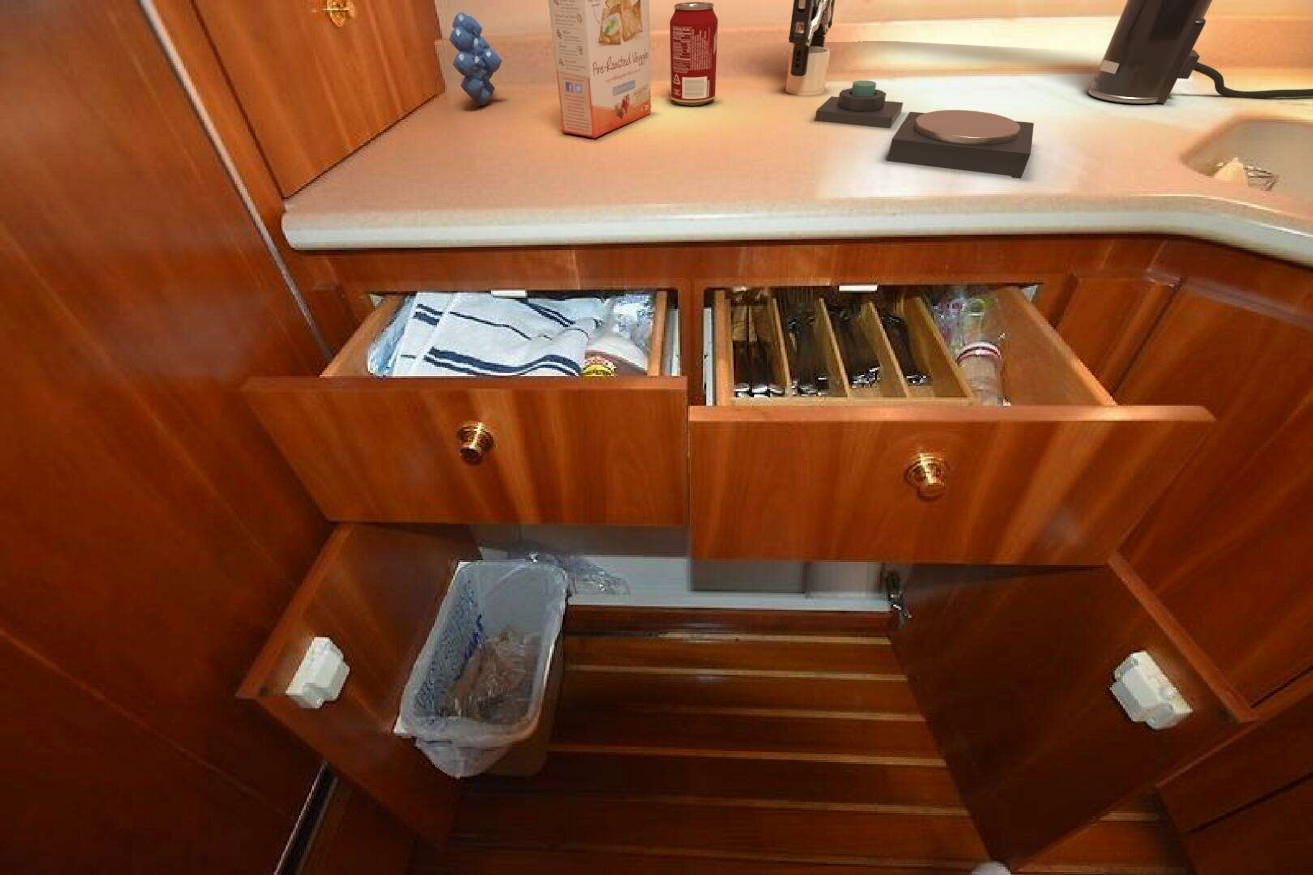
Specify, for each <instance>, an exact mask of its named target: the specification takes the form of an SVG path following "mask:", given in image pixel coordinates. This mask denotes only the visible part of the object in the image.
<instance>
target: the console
mask: <svg viewBox="0 0 1313 875" xmlns="http://www.w3.org/2000/svg"><path fill="white" fill-rule="evenodd" d="M851 92H852V87H850V88H846V89H841V91H840V92H839V93H838V96H833V95H832V96H830V97H829V98H828V99H827V100H826V101H825V102H824V103H823V104H822V105H820V106H819V107H818V108H817V109H816V111H815V117H814V121H815V122H819V123H830V124H840V125H849V126H850V125H851V126H859V127H860V126H861V127H869V128H871V127H872V128H879V129H880V128H881V129H892V127H893V125H894V124H895V122H896V121H897V119H898V118H899V117H900V115H901V114H902V110H903V106H904V102H903V101H892V100H886V97H887V93H886V92H884V91H883V90H881V89H876V88H875V93H874V96H864V97H862V96H854V95H851Z"/></svg>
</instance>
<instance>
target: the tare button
mask: <svg viewBox="0 0 1313 875" xmlns="http://www.w3.org/2000/svg"><path fill="white" fill-rule="evenodd" d="M851 88H852V92H851V95H854V96H862V97H864V96H874V93H875V89H876V88H877V83H876V81H872V80H856V81H853V82H852V86H851Z"/></svg>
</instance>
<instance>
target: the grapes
mask: <svg viewBox="0 0 1313 875" xmlns="http://www.w3.org/2000/svg"><path fill="white" fill-rule="evenodd" d="M451 26H452V28H453V29H452V31H451V32H450V35H449V42H450V43H451V45H452V46H453V47H454V48H455V49H456V50H457V51H458V53H457V54H456V55H455V57H454V58H453V61H452V62H453V63H452V65H453V67H454V68H455V69H456V70H457V71H458V73H459V74H460V75H461V76H463V79H462V80H461V83H460V87H461V89H462V90H463V91H464V93H466V94H467V95H468V96H469V97H470V98H471V100H472V101H473V102H474V103H475V104H476V105H477V106H480V107H483V106H485V105H486V104H487V103H488V102H489V100H490V98H491V97H492V96H493V94H494V92H495V89H496V86H494V85H493V83H492V82H491V81H490V80H491V78H492V77H493V75H494V73H496V72H497V71H498V70H499V69H500V67H501V65H502V62H503V59H502V58H501V57H500V56H499V54H498V53H497V51H495V50H493V49H492V48H491V45H490V44H489V43H488V41H487V40H486V39H485V38H484V37H483V36H481V34H482V31H483V27H482V26H481V24H480V23H479V22H478V21H477V19H476V18H474V17H473V16H471V15H468V14H466V13H464V12H462V11H461V12H459V11H458V13H457V14H456V15H455V16H454V19H453V20H452V25H451Z"/></svg>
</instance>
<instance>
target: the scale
mask: <svg viewBox="0 0 1313 875" xmlns="http://www.w3.org/2000/svg"><path fill="white" fill-rule="evenodd" d="M1034 125H1035V122H1030V121H1029V122H1028V121H1019V120H1014V119H1012V118H1009V117H1006V116H1003V115H999V114H996V113H991V112H984V111H979V110H968V109H967V110H966V109H944V110H943V109H942V110H934V111H930V112H929V111H928V112H919V111H909V112H908V114H907V115H906V117H905V119H904V120H903V122H902V123H901V125H900V126H899V128H898V129H897V131H896V132H895V134H894V135H893V137H892V138H891V141H890V146H889V151H888V155H887V161H886V162H890V163H891V162H892V163H898V164H905V165H906V164H907V165H916V166H923V167H932V168H940V169H949V170H955V171H956V170H957V171H965V172H973V173H974V172H975V173H982V174H990V175H997V176H1006V177H1007V176H1008V177H1011V178H1016V179H1017V178H1018V179H1019V178H1020V179H1021V178H1022V177H1023V175H1024V172H1025V170H1026V167H1027V164H1028V163H1029V160H1030V156H1031V154H1032V144H1033V137H1034V136H1033V135H1034V127H1035V126H1034Z"/></svg>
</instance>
